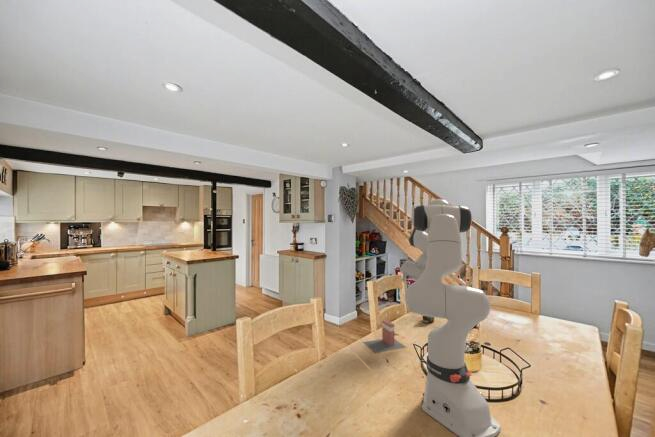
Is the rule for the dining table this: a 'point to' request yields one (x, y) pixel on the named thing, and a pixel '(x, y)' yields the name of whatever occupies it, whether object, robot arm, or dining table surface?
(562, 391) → the dining table surface
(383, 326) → the card box
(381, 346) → the mat
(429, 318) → the food container
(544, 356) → the dining table surface
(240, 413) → the dining table surface
